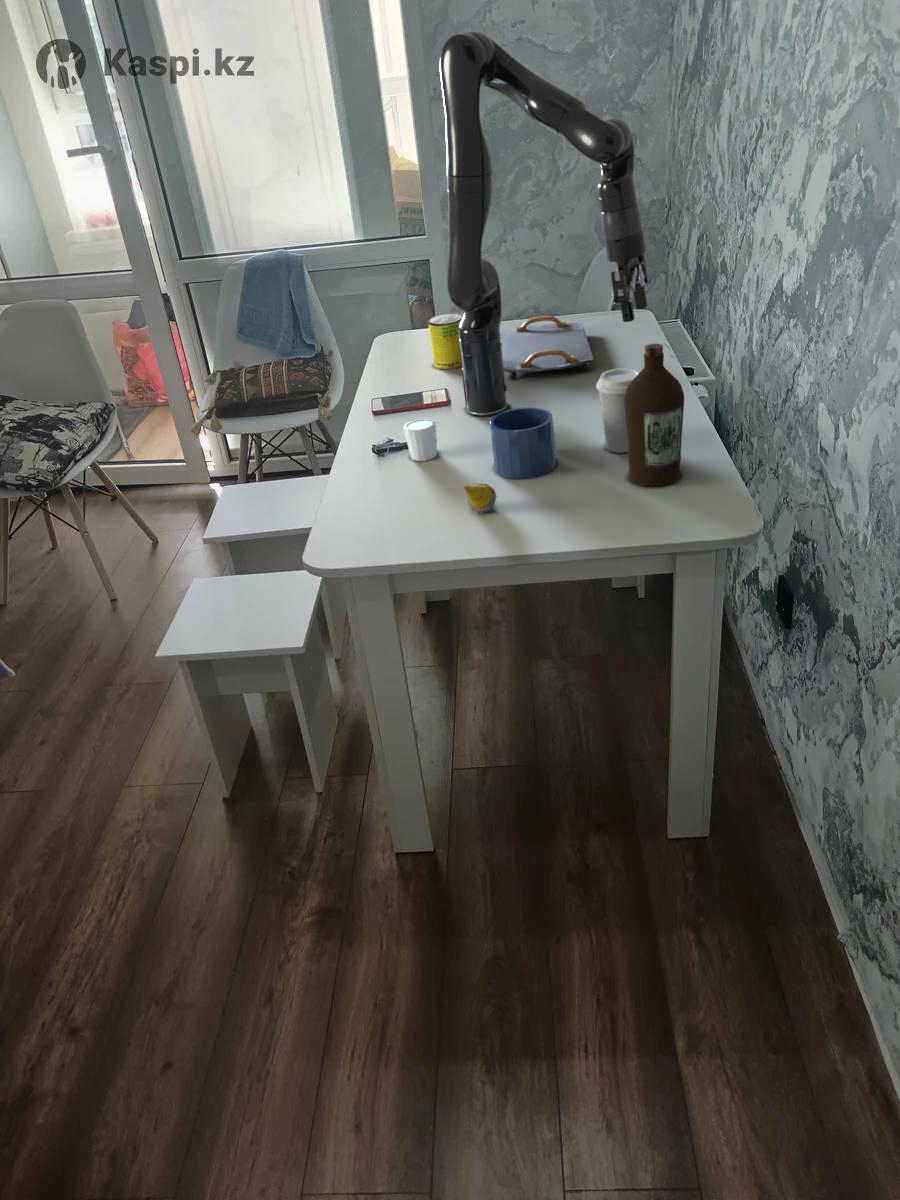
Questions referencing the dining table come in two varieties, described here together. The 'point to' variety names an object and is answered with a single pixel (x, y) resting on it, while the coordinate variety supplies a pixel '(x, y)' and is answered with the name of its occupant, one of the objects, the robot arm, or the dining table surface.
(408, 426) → the white cylinder
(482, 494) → the drill bit
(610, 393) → the coffee cup
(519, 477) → the cup
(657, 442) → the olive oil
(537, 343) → the serving tray
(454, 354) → the yellow can
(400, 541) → the dining table surface
